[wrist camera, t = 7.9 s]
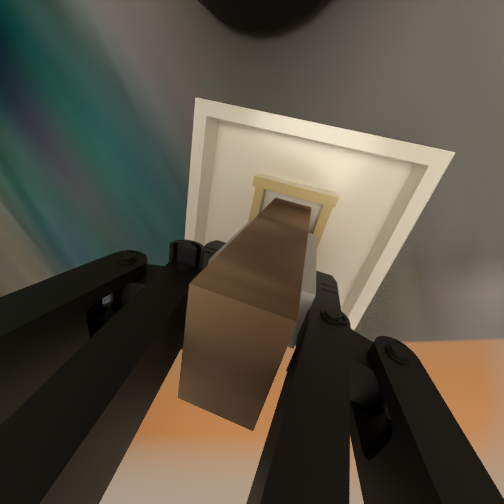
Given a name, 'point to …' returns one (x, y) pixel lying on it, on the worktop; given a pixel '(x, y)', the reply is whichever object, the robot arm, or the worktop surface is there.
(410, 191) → the candle dish
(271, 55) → the worktop surface
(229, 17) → the coffee jar
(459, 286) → the worktop surface
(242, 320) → the wooden wedge
